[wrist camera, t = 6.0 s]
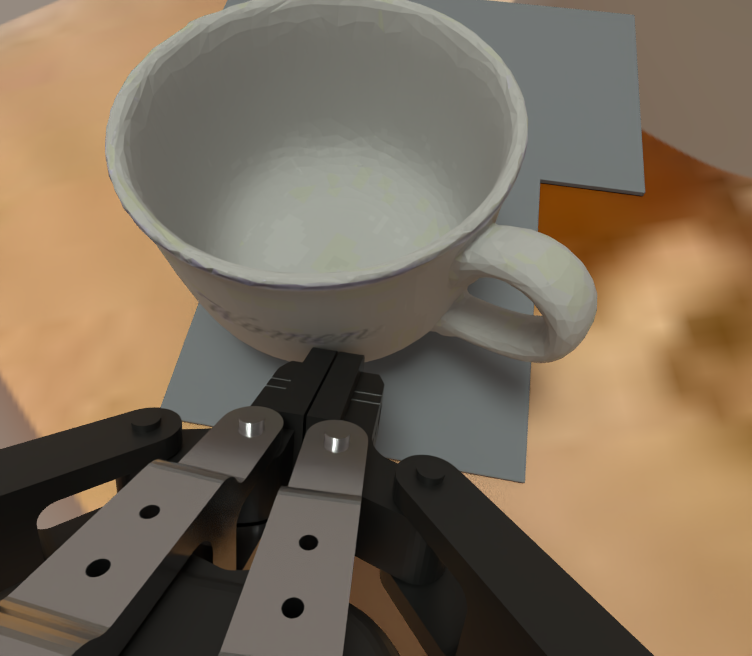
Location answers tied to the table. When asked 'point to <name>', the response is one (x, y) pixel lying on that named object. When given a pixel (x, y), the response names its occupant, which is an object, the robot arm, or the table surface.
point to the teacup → (341, 180)
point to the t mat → (452, 354)
